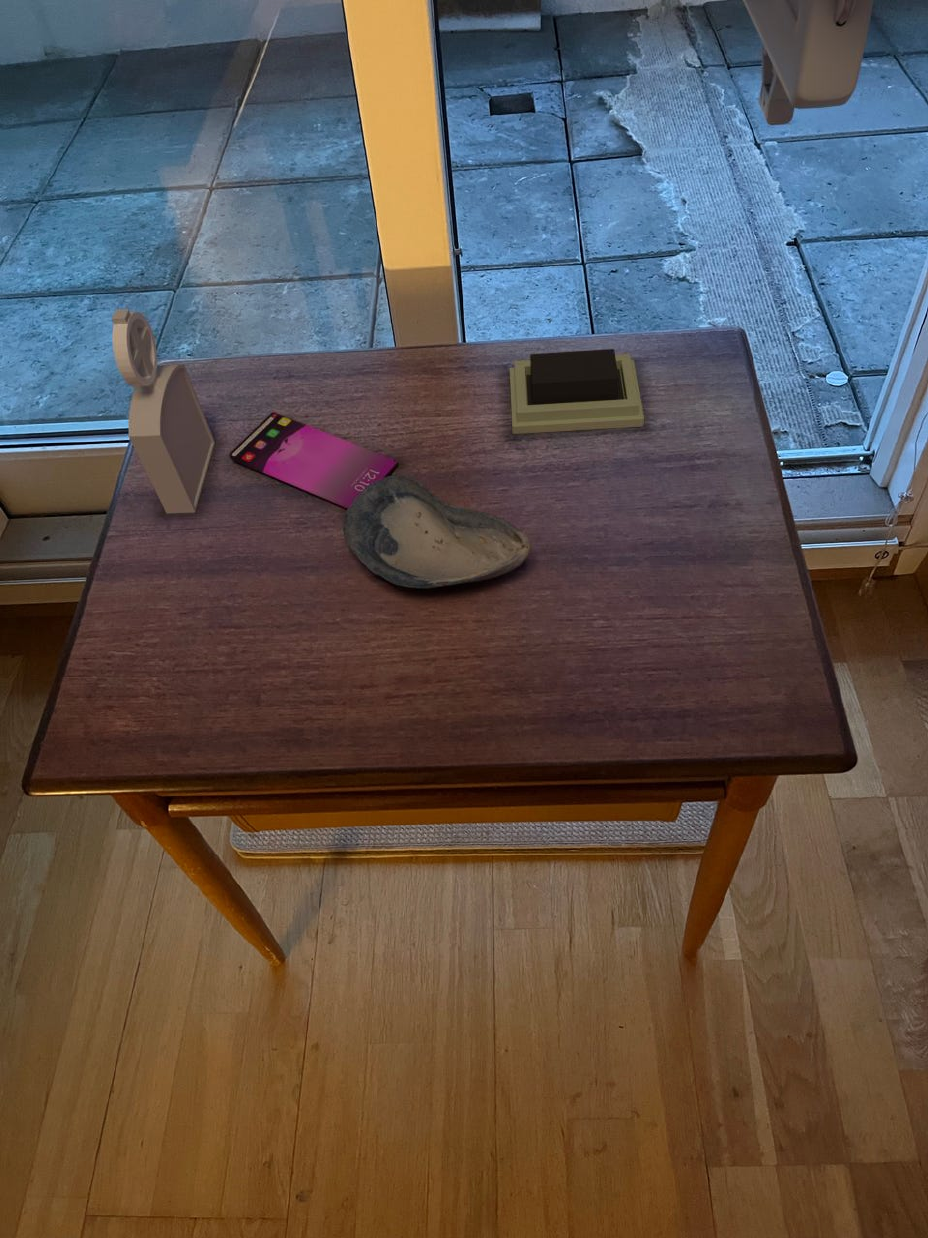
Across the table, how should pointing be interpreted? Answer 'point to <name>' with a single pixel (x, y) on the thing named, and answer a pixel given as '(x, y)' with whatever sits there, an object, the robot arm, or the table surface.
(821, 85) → the robot arm
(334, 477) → the smartphone
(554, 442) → the table surface
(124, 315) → the gravestone
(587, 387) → the black pad
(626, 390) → the pad
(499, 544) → the seashell
